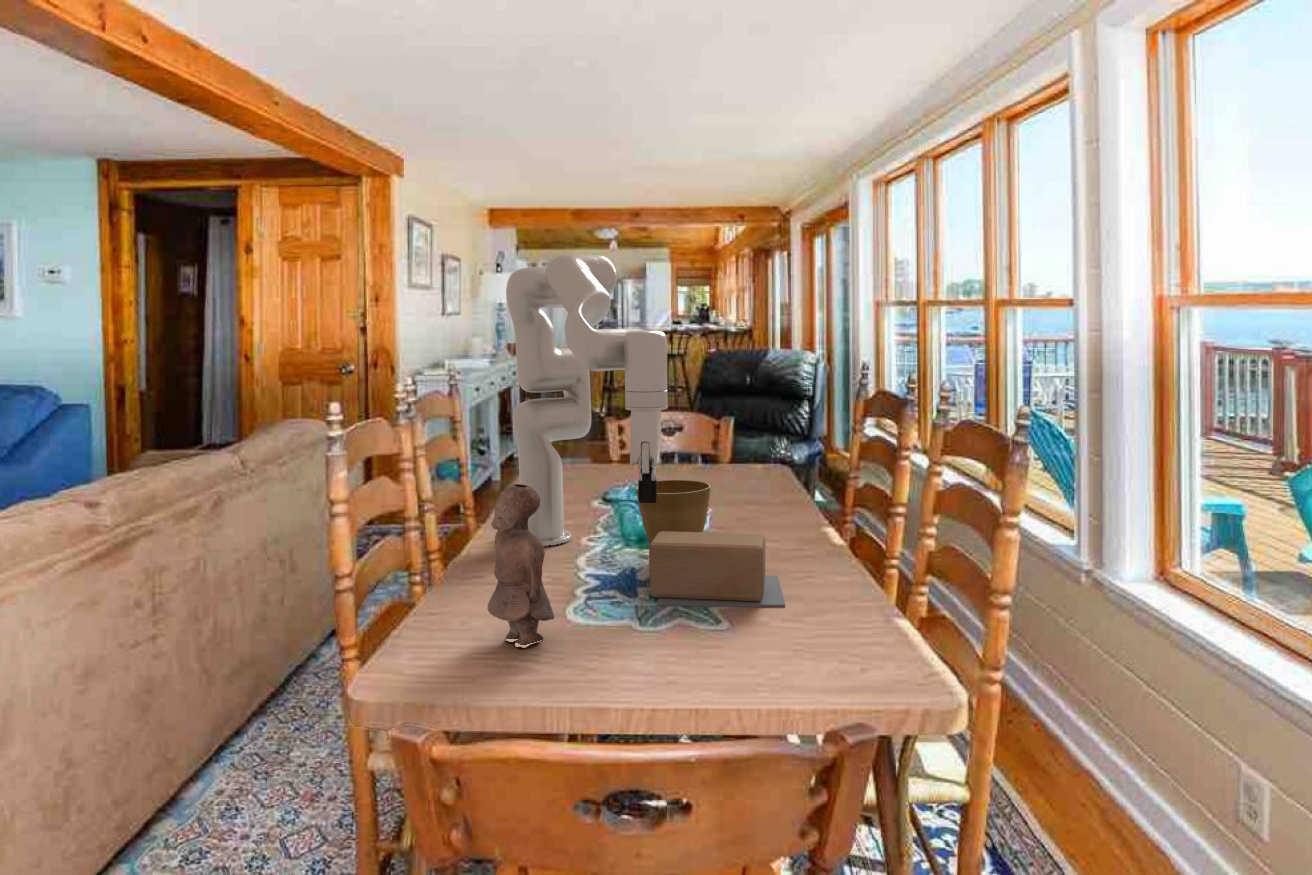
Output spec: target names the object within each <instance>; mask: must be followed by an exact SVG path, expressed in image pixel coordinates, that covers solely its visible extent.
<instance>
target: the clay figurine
mask: <svg viewBox="0 0 1312 875" xmlns="http://www.w3.org/2000/svg"><path fill="white" fill-rule="evenodd" d="M539 506H540V497H539V495H538V494H537V492H536V491H535V490H534V489H533V488H531V487H529V486H527V485H523V484H520V483H515V484H512V485H510V486H508V487H506V488H505V489H504V490H503V491H502V492H501V493H500V496H499V498H498V501H497V503H496V504H495V507H494V517H493V519H492V521H491V527H492V528H493V529H494V530H496V531H497V532H495V536H494V544H495V550H496V556H495V563H494V569H493V570H494V571H493V572H494V576H495V579H496V580H497V583H496V587H495V589H494V590H493V593H492V595H491V596H490V599H489V601H488V603H487V608H486V609H487V611H488V613H489V614H490V615H491V616H493V617H495V618H496V619H499V620H502V621H506V622H507V623H508V627H509V631H508V632H507V635H505V638H506V639H518V640H516V641H515V642H516V643H518V644H520V645H527V644H530V643H534V642H537V641H540V640H542V641H544V638H545V637H544V636H543V635H542V634H541V633H538V628H539V622H540V621H542V622H546V621H550V620H554V619H555V614H554V611H553V607H552V606H551V602H550V599H549V597H548V594H547V592H546V588H545V586H544V583H543V564H544V561H545V554H546V552H545V546H544V545H543V543H542V542H541V540H540V539H539V538H537V537H536V536H534V535H533V534H532V533H531V532H530V531H529V529H528V519H529V517H530V516H531V515H533V514H534V513H535V512H536V511H537V510H538V508H539Z"/></svg>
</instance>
